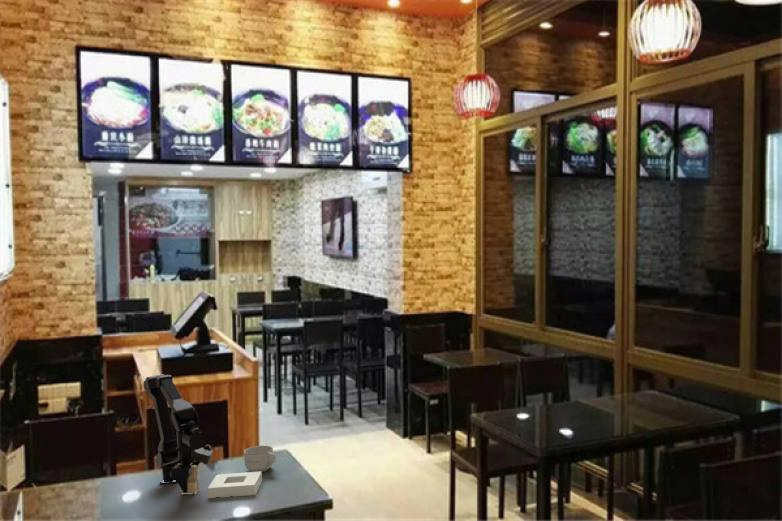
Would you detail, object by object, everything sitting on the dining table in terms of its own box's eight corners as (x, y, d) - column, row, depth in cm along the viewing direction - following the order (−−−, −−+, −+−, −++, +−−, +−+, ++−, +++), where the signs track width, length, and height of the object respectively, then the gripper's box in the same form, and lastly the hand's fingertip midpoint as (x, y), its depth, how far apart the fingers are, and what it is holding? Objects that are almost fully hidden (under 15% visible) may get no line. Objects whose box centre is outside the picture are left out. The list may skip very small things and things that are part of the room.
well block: (217, 484, 224) (216, 474, 224) (262, 480, 224) (261, 471, 224) (208, 498, 212) (207, 488, 212) (255, 494, 212) (254, 484, 212)
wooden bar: (184, 491, 220) (182, 466, 219) (198, 490, 220) (196, 465, 219) (181, 495, 216) (179, 469, 216) (195, 494, 216) (193, 468, 216)
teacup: (239, 470, 236) (238, 450, 236) (264, 462, 243) (263, 442, 243) (259, 479, 226) (257, 458, 225) (284, 470, 233) (283, 449, 233)
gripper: (201, 450, 208) (205, 496, 209) (216, 432, 227) (219, 475, 227) (167, 453, 208) (171, 499, 209) (185, 434, 227) (189, 477, 227)
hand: (189, 487), depth 218 cm, fingers open, 9 cm apart
